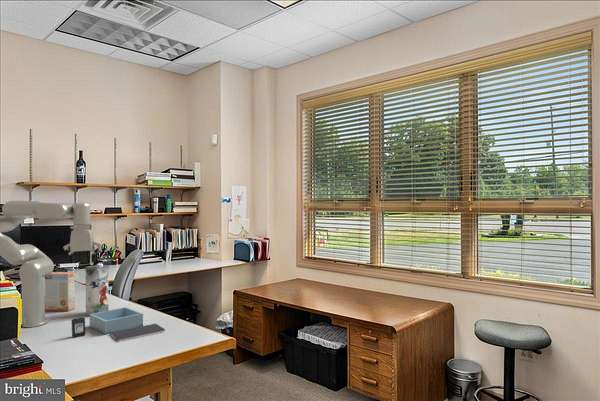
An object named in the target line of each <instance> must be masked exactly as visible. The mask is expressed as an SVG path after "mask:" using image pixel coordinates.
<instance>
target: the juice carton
mask: <svg viewBox="0 0 600 401" xmlns="http://www.w3.org/2000/svg"><path fill="white" fill-rule="evenodd" d="M109 267H110V266H109V265H107V264H103V263H102V262H101V263H97V264H96V265H93V266H92V265H90V266H85V267H84V271H85V314H86V315H87V316H90V314H93V313H98V312H103V311H108V310H109Z"/></svg>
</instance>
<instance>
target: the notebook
mask: <svg viewBox="0 0 600 401" xmlns="http://www.w3.org/2000/svg"><path fill="white" fill-rule="evenodd" d="M165 332H166V329H165V328H164V327H162V326H161V325H159V324H157V323H151V324H146V325H143V326H140V327H135V328H130V329H125V330H120V331H115V332H110V334H109V335H110V336H111V337H112V338H113V339H115V341H117V342H123V341H130V340H135V339H138V338H144V337H149V336H153V335H158V334H162V333H165Z"/></svg>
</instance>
